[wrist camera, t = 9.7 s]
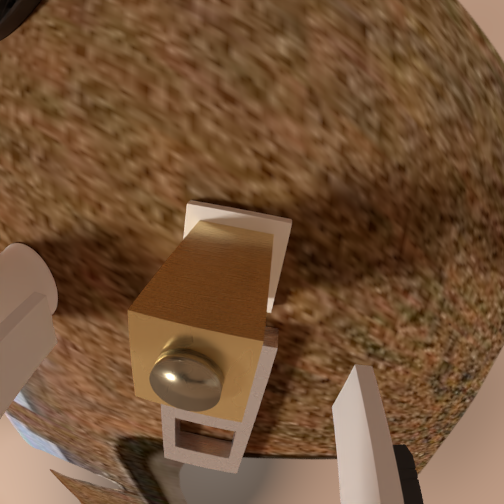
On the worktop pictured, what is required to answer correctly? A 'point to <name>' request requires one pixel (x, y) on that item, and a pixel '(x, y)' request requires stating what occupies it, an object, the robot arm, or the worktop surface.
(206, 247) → the brass block
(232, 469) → the rail plate
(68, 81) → the worktop surface
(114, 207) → the worktop surface
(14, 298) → the mug
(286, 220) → the pad
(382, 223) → the worktop surface
